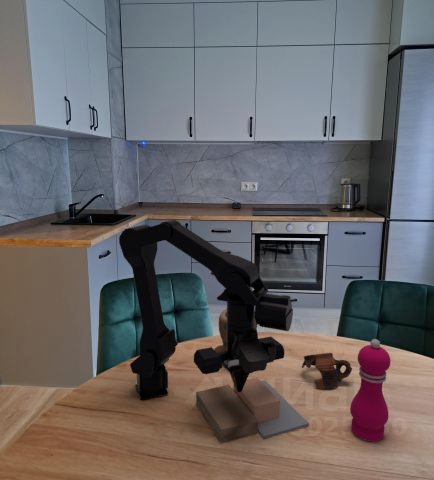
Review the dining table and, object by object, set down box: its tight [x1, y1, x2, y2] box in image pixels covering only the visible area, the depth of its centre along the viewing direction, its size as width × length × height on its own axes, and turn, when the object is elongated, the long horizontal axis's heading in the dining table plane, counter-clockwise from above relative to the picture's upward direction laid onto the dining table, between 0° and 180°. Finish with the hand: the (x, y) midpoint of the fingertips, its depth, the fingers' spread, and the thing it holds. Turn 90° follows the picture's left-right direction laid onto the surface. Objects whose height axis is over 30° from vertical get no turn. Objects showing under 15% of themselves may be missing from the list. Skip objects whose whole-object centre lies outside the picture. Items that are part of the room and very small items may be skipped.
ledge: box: [195, 384, 259, 444], centre depth 85 cm, size 8×14×3 cm, turn 23°
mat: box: [231, 379, 310, 440], centre depth 88 cm, size 11×18×1 cm, turn 23°
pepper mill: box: [349, 338, 391, 442], centre depth 79 cm, size 7×7×20 cm
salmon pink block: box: [233, 376, 280, 423], centre depth 87 cm, size 4×10×6 cm
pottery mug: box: [301, 352, 353, 390], centre depth 100 cm, size 12×10×8 cm
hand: (238, 391), depth 85 cm, fingers closed
